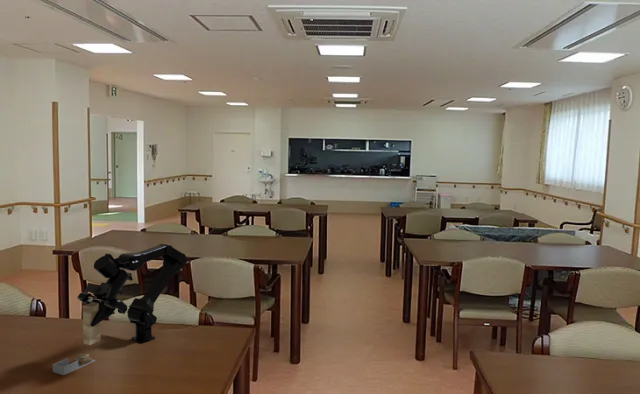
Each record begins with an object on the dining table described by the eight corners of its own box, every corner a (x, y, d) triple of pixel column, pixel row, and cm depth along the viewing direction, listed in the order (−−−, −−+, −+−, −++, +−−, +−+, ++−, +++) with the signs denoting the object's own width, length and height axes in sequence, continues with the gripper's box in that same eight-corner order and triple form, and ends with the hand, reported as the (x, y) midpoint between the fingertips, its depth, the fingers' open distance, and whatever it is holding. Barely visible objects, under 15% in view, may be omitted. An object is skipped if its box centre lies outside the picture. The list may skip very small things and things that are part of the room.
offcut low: (83, 359, 162) (83, 355, 162) (91, 361, 160) (91, 358, 160) (73, 363, 159) (73, 359, 159) (82, 365, 157) (82, 362, 157)
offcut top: (80, 356, 161) (80, 353, 161) (89, 357, 161) (89, 354, 160) (75, 360, 158) (75, 357, 158) (84, 361, 158) (83, 357, 158)
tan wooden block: (94, 339, 165) (93, 302, 164) (100, 340, 164) (99, 303, 162) (83, 343, 161) (82, 305, 160) (89, 345, 160) (88, 307, 158)
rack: (85, 361, 163) (85, 350, 163) (95, 364, 161) (95, 353, 161) (52, 376, 153) (52, 364, 152) (63, 379, 150) (63, 367, 150)
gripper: (81, 269, 167) (53, 309, 159) (120, 276, 160) (92, 318, 151) (100, 285, 175) (74, 324, 167) (138, 293, 168) (113, 334, 159)
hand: (88, 325), depth 160 cm, fingers closed on tan wooden block, 3 cm apart
